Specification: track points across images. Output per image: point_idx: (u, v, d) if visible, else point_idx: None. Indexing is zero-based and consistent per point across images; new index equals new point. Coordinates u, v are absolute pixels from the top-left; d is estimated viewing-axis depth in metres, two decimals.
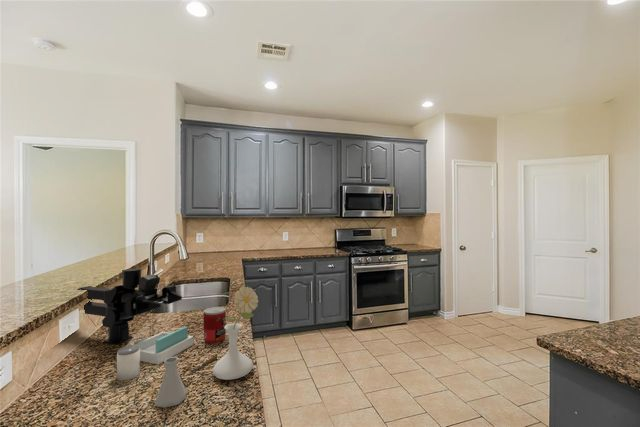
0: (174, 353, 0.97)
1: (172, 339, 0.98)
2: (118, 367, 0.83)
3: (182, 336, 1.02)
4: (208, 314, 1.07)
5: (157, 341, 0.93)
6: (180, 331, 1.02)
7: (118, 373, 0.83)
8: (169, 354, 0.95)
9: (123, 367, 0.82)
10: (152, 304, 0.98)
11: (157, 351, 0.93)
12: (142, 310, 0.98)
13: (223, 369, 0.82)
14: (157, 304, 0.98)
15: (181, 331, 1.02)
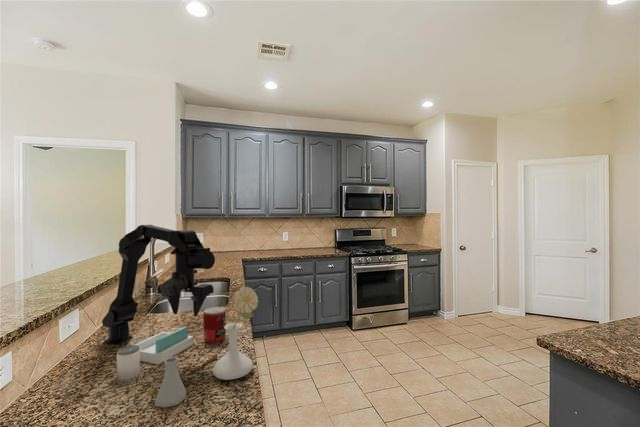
0: (174, 353, 0.97)
1: (172, 339, 0.98)
2: (118, 367, 0.83)
3: (182, 336, 1.02)
4: (208, 314, 1.07)
5: (157, 341, 0.93)
6: (180, 331, 1.02)
7: (118, 373, 0.83)
8: (169, 354, 0.95)
9: (123, 367, 0.82)
10: None
11: (157, 351, 0.93)
12: None
13: (223, 369, 0.82)
14: None
15: (181, 331, 1.02)
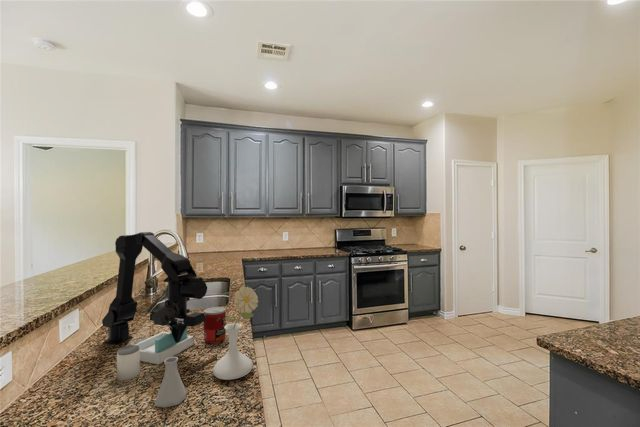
0: (174, 353, 0.97)
1: (171, 339, 0.98)
2: (118, 367, 0.83)
3: None
4: (208, 314, 1.07)
5: (156, 341, 0.93)
6: None
7: (118, 373, 0.83)
8: (169, 354, 0.95)
9: (123, 367, 0.82)
10: None
11: (156, 351, 0.93)
12: None
13: (223, 369, 0.82)
14: None
15: None
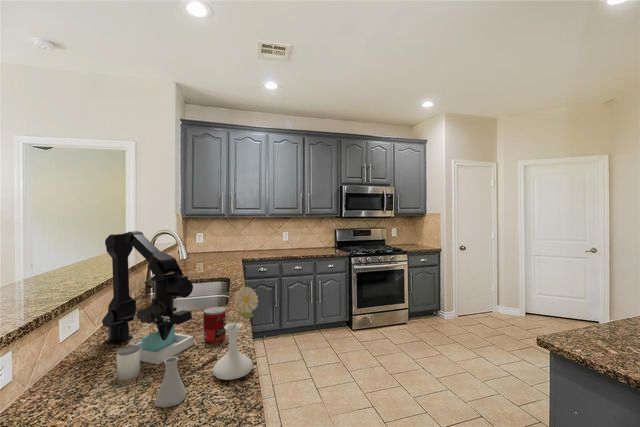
0: (174, 353, 0.97)
1: (159, 337, 1.00)
2: (118, 367, 0.83)
3: (169, 334, 1.04)
4: (208, 314, 1.07)
5: (143, 339, 0.95)
6: None
7: (118, 373, 0.83)
8: (169, 354, 0.95)
9: (123, 367, 0.82)
10: None
11: (143, 348, 0.95)
12: None
13: (223, 369, 0.82)
14: None
15: None
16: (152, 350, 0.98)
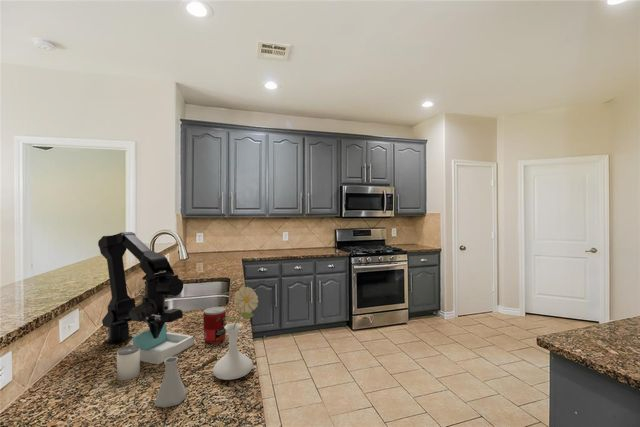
0: (174, 353, 0.97)
1: (150, 336, 1.01)
2: (118, 367, 0.83)
3: (161, 333, 1.06)
4: (208, 314, 1.07)
5: (134, 337, 0.96)
6: None
7: (118, 373, 0.83)
8: (169, 354, 0.95)
9: (123, 367, 0.82)
10: None
11: None
12: None
13: (223, 369, 0.82)
14: None
15: None
16: (143, 348, 0.99)
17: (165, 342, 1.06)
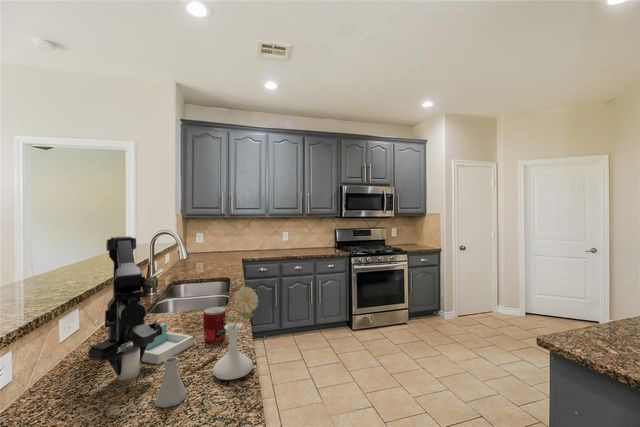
0: (174, 353, 0.97)
1: None
2: None
3: None
4: (208, 314, 1.07)
5: None
6: None
7: None
8: (169, 354, 0.95)
9: (123, 367, 0.82)
10: (116, 368, 0.81)
11: None
12: None
13: (223, 369, 0.82)
14: (118, 373, 0.82)
15: None
16: None
17: (165, 342, 1.06)
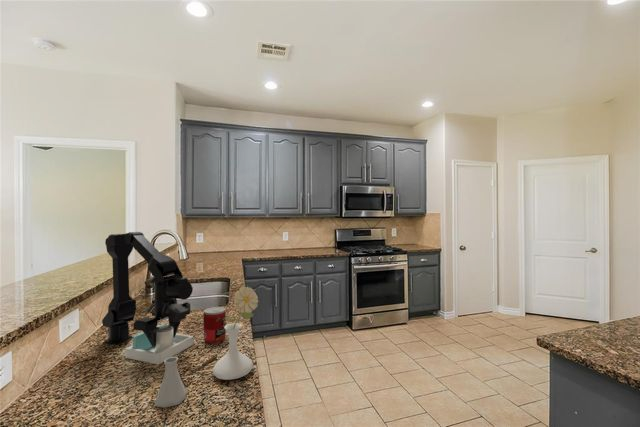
0: (174, 353, 0.97)
1: None
2: (156, 342, 0.98)
3: None
4: (208, 314, 1.07)
5: (134, 337, 0.96)
6: None
7: (156, 347, 0.98)
8: (169, 354, 0.95)
9: (160, 342, 0.98)
10: (152, 340, 0.96)
11: (134, 347, 0.96)
12: (145, 331, 0.95)
13: (223, 369, 0.82)
14: (153, 345, 0.96)
15: None
16: (143, 348, 0.99)
17: None
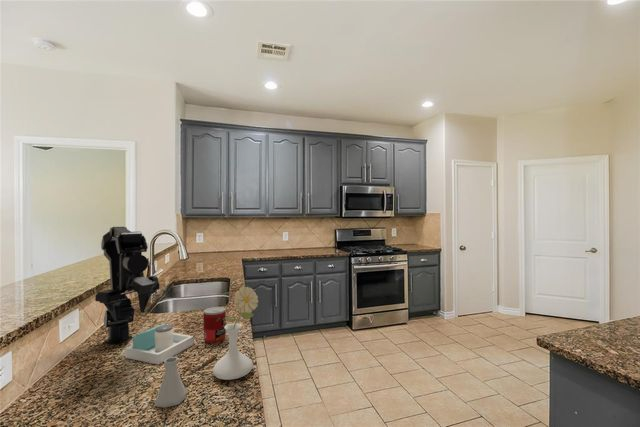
0: (174, 353, 0.97)
1: (150, 336, 1.01)
2: (156, 342, 0.98)
3: None
4: (208, 314, 1.07)
5: (134, 337, 0.96)
6: None
7: (156, 347, 0.98)
8: (169, 354, 0.95)
9: (160, 342, 0.98)
10: (114, 314, 0.92)
11: (134, 347, 0.96)
12: (106, 304, 0.92)
13: (223, 369, 0.82)
14: (115, 319, 0.93)
15: None
16: (143, 348, 0.99)
17: None
